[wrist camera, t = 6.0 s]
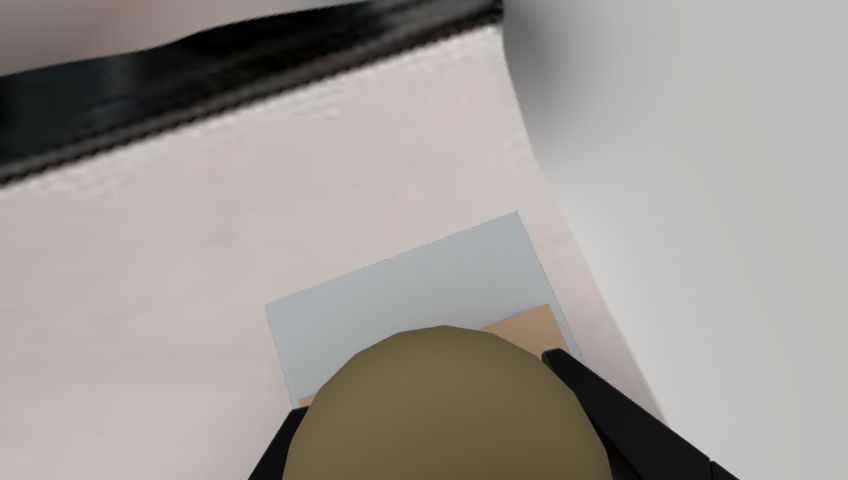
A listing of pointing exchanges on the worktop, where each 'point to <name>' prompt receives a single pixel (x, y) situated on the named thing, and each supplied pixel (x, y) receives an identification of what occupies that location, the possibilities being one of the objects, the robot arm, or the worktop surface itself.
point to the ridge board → (421, 303)
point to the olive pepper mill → (445, 415)
